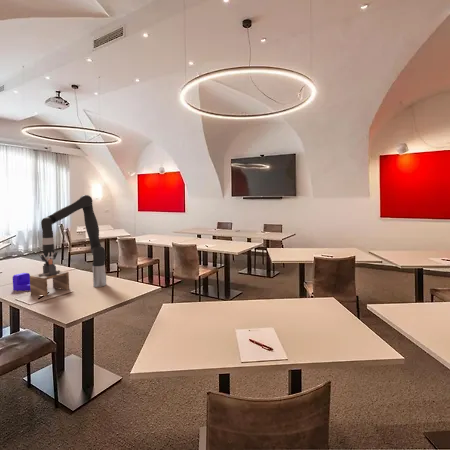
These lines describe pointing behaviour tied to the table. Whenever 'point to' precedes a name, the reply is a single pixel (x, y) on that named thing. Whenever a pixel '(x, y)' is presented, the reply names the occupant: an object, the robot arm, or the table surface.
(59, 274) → the shelf rack
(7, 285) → the table surface
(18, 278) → the bracket
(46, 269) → the dark grey orange block
